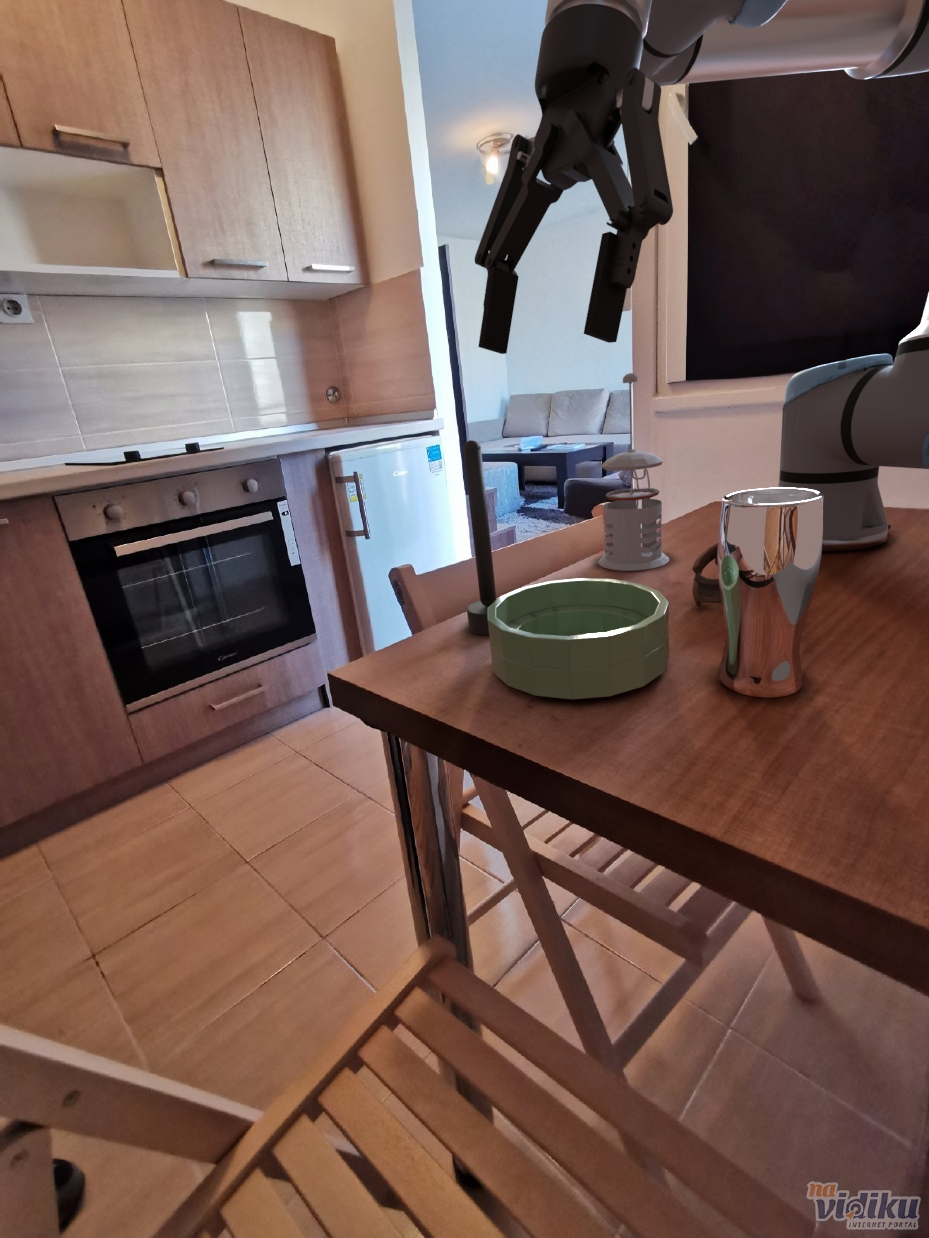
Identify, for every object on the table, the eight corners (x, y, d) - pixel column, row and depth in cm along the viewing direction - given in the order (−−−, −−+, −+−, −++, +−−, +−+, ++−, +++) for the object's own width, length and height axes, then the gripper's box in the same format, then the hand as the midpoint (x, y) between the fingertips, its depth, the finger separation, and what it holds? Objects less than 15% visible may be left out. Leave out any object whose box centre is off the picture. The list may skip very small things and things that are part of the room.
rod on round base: (519, 619, 67) (503, 435, 60) (503, 636, 63) (484, 440, 56) (479, 617, 69) (459, 439, 62) (461, 634, 65) (438, 444, 58)
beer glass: (733, 655, 52) (742, 486, 47) (821, 674, 48) (840, 487, 42) (698, 686, 48) (702, 503, 43) (790, 710, 43) (807, 506, 38)
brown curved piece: (815, 618, 59) (790, 558, 56) (723, 657, 63) (693, 603, 59) (769, 558, 69) (745, 504, 65) (692, 595, 72) (665, 546, 69)
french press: (589, 569, 83) (580, 378, 74) (612, 548, 92) (607, 376, 83) (661, 571, 78) (661, 368, 69) (678, 549, 87) (679, 367, 79)
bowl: (676, 638, 57) (677, 579, 55) (653, 717, 44) (652, 645, 42) (525, 629, 64) (521, 577, 62) (467, 696, 51) (458, 632, 49)
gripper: (459, 82, 51) (426, 344, 56) (711, -116, 31) (624, 315, 37) (525, 122, 55) (489, 362, 61) (783, -31, 36) (696, 344, 41)
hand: (540, 345), depth 49 cm, fingers open, 13 cm apart
